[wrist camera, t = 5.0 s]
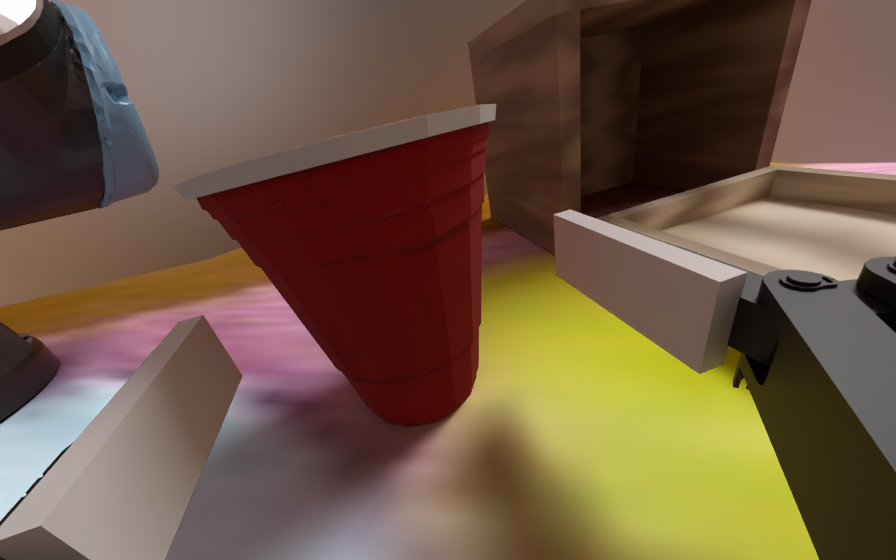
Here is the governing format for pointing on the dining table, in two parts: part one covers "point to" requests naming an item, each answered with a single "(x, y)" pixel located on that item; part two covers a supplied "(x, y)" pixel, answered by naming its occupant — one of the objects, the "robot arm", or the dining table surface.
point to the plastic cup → (374, 251)
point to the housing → (628, 98)
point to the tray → (778, 220)
